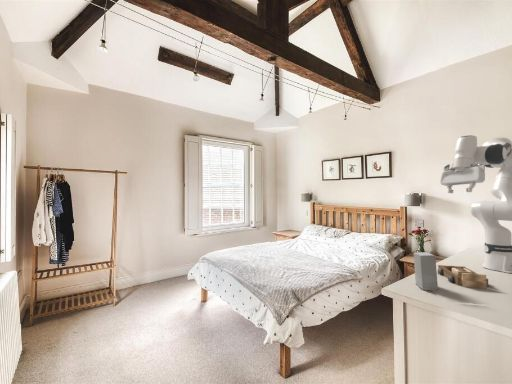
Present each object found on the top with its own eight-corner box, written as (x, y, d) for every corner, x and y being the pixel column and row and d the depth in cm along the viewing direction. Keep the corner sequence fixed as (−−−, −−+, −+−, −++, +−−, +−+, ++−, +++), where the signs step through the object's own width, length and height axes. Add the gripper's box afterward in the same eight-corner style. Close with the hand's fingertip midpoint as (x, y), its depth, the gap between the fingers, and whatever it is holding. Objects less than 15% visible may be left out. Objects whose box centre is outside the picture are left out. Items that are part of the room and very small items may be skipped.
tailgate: (485, 288, 118) (485, 274, 118) (486, 289, 117) (486, 275, 117) (461, 286, 120) (461, 272, 120) (462, 287, 119) (462, 273, 119)
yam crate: (465, 276, 131) (465, 267, 131) (472, 280, 125) (471, 270, 125) (451, 275, 133) (451, 266, 133) (457, 279, 127) (457, 270, 127)
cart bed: (467, 275, 138) (467, 266, 138) (491, 289, 117) (491, 279, 117) (435, 272, 142) (435, 264, 142) (454, 286, 121) (454, 276, 121)
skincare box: (438, 291, 115) (438, 255, 115) (420, 290, 116) (420, 255, 117) (429, 284, 123) (429, 251, 123) (413, 283, 125) (413, 251, 125)
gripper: (490, 164, 121) (486, 192, 120) (449, 170, 141) (445, 195, 140) (480, 160, 120) (476, 189, 119) (440, 167, 140) (436, 192, 139)
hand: (459, 192), depth 129 cm, fingers open, 8 cm apart
